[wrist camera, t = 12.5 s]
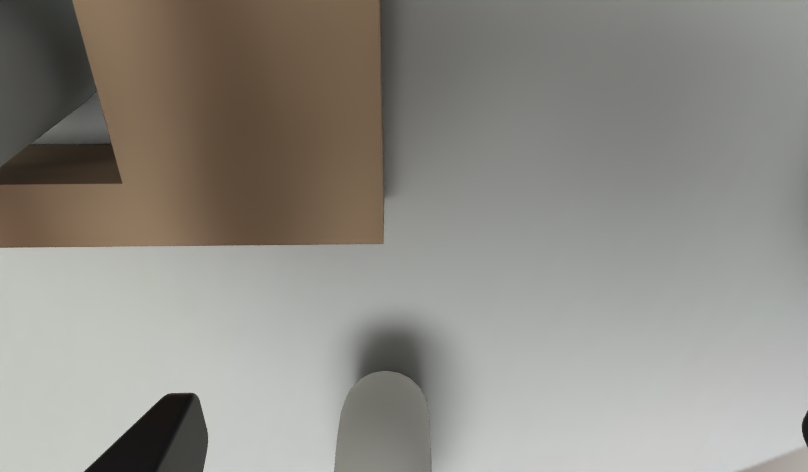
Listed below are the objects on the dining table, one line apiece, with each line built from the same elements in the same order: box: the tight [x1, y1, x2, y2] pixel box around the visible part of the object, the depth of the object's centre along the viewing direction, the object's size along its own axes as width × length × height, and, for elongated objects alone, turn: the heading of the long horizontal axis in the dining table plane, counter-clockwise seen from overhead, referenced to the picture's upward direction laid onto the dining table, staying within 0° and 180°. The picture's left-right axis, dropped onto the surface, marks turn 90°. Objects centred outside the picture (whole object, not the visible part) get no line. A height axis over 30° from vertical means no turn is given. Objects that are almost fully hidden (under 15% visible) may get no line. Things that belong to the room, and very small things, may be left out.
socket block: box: [0, 0, 384, 248], centre depth 17 cm, size 16×11×3 cm
